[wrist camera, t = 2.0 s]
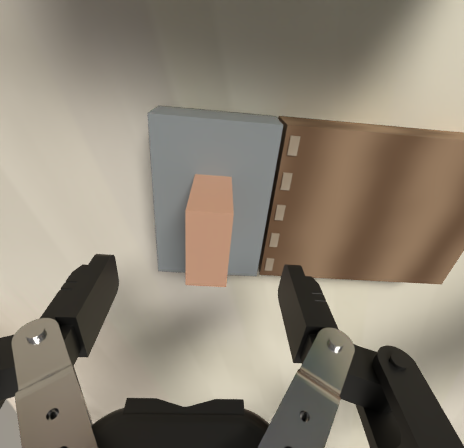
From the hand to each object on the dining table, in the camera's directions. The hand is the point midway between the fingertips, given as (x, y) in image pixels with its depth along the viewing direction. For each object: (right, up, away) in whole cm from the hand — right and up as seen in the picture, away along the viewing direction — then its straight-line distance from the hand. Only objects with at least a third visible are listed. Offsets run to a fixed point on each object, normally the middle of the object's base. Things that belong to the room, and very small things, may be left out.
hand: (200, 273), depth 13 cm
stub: (0, +5, +9) cm, 10 cm away
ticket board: (+12, +4, +10) cm, 16 cm away
